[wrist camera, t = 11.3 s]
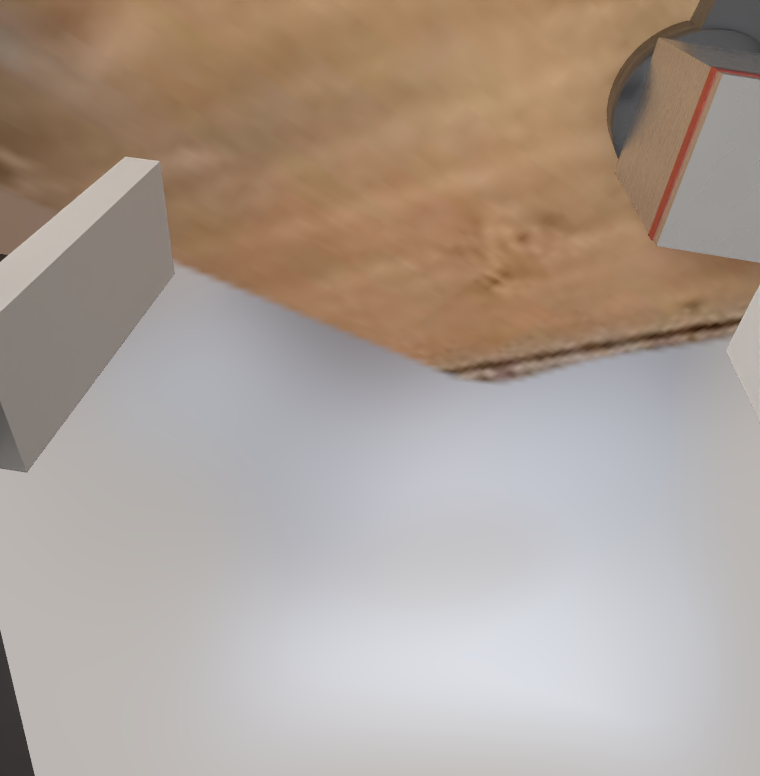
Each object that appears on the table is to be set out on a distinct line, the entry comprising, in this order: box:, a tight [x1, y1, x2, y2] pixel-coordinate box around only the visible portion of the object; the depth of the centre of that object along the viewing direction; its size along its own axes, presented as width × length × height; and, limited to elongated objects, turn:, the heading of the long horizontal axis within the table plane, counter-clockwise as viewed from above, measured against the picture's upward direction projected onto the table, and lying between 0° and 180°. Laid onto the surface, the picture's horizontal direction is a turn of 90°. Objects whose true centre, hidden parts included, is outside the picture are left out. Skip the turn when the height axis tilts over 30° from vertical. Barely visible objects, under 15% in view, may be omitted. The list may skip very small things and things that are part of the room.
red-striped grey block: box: [615, 38, 760, 263], centre depth 29 cm, size 6×6×10 cm
